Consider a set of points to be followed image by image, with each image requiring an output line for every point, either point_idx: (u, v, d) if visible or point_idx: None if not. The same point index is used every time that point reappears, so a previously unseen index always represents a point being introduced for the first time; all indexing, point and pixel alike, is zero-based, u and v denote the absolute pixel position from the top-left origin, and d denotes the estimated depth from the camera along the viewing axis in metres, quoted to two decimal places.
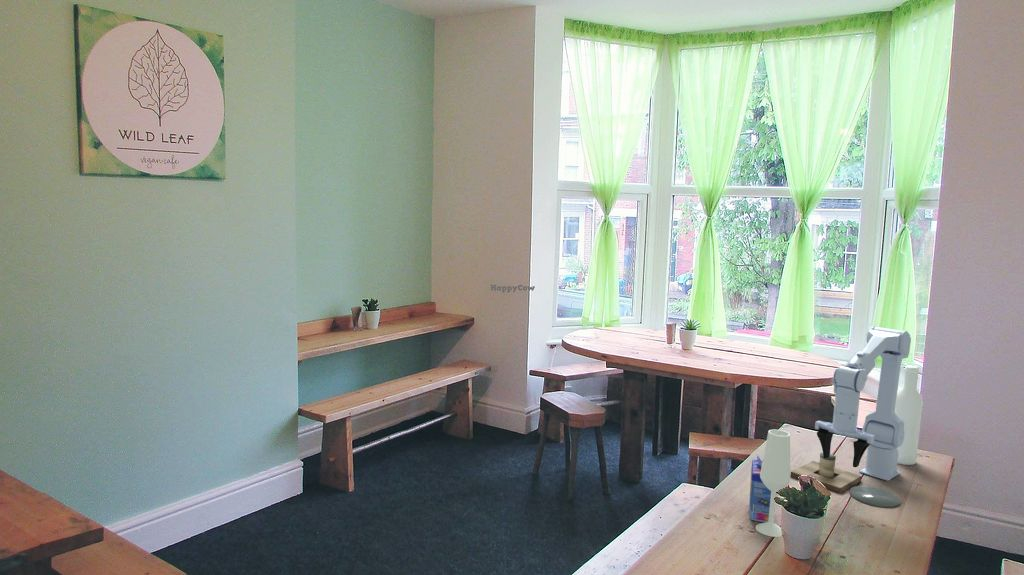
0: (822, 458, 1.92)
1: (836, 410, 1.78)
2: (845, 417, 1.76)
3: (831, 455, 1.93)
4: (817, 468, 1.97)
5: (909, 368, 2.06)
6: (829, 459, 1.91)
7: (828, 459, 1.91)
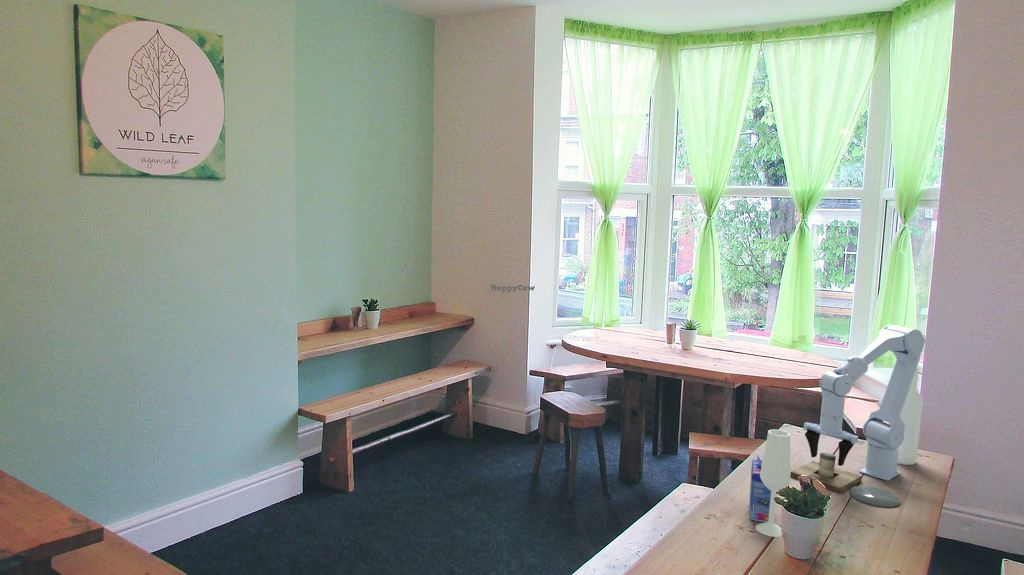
0: (822, 458, 1.92)
1: (821, 411, 1.92)
2: (831, 419, 1.89)
3: (831, 455, 1.93)
4: (817, 468, 1.97)
5: None
6: (829, 459, 1.91)
7: (828, 459, 1.91)
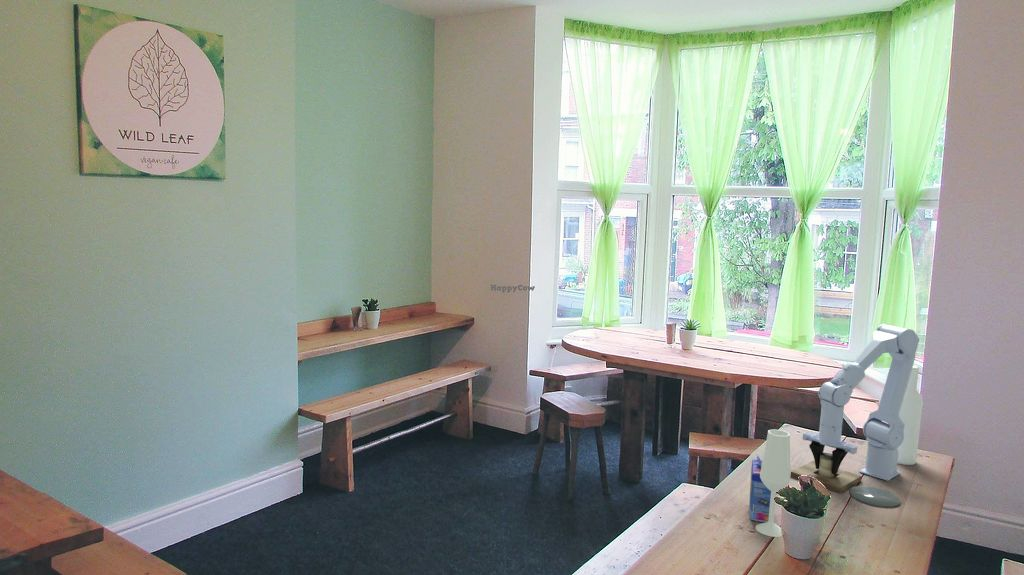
0: (822, 458, 1.92)
1: (820, 421, 1.93)
2: (830, 429, 1.89)
3: (831, 455, 1.93)
4: None
5: None
6: (829, 459, 1.91)
7: (828, 459, 1.91)
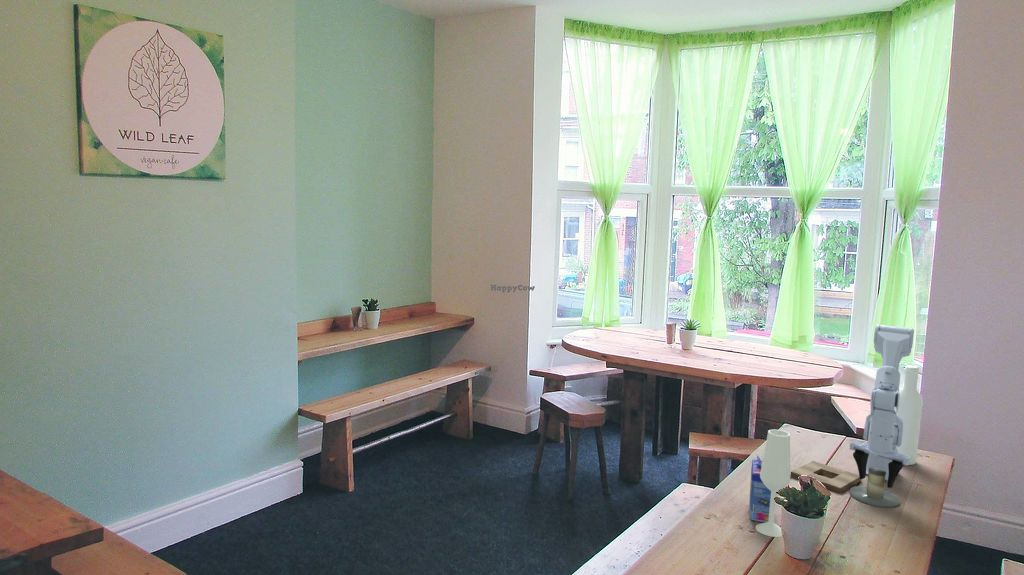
0: (872, 474, 1.80)
1: (874, 433, 1.79)
2: (881, 439, 1.78)
3: (880, 470, 1.81)
4: (817, 468, 1.97)
5: (909, 368, 2.06)
6: (879, 475, 1.79)
7: (878, 475, 1.79)
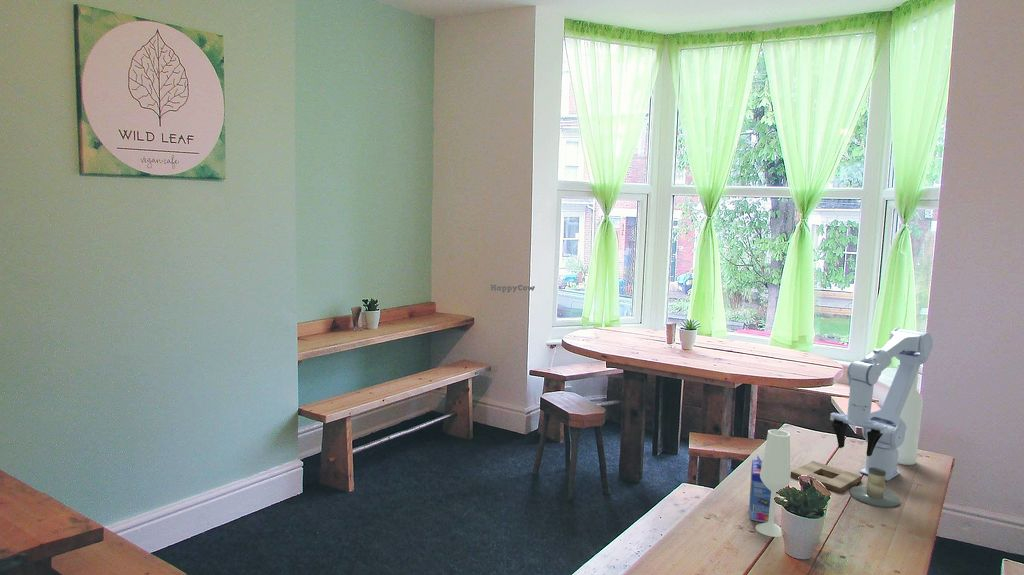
0: (872, 473, 1.80)
1: (850, 402, 1.88)
2: (859, 409, 1.86)
3: (880, 470, 1.81)
4: (817, 468, 1.97)
5: None
6: (879, 475, 1.79)
7: (878, 475, 1.79)
